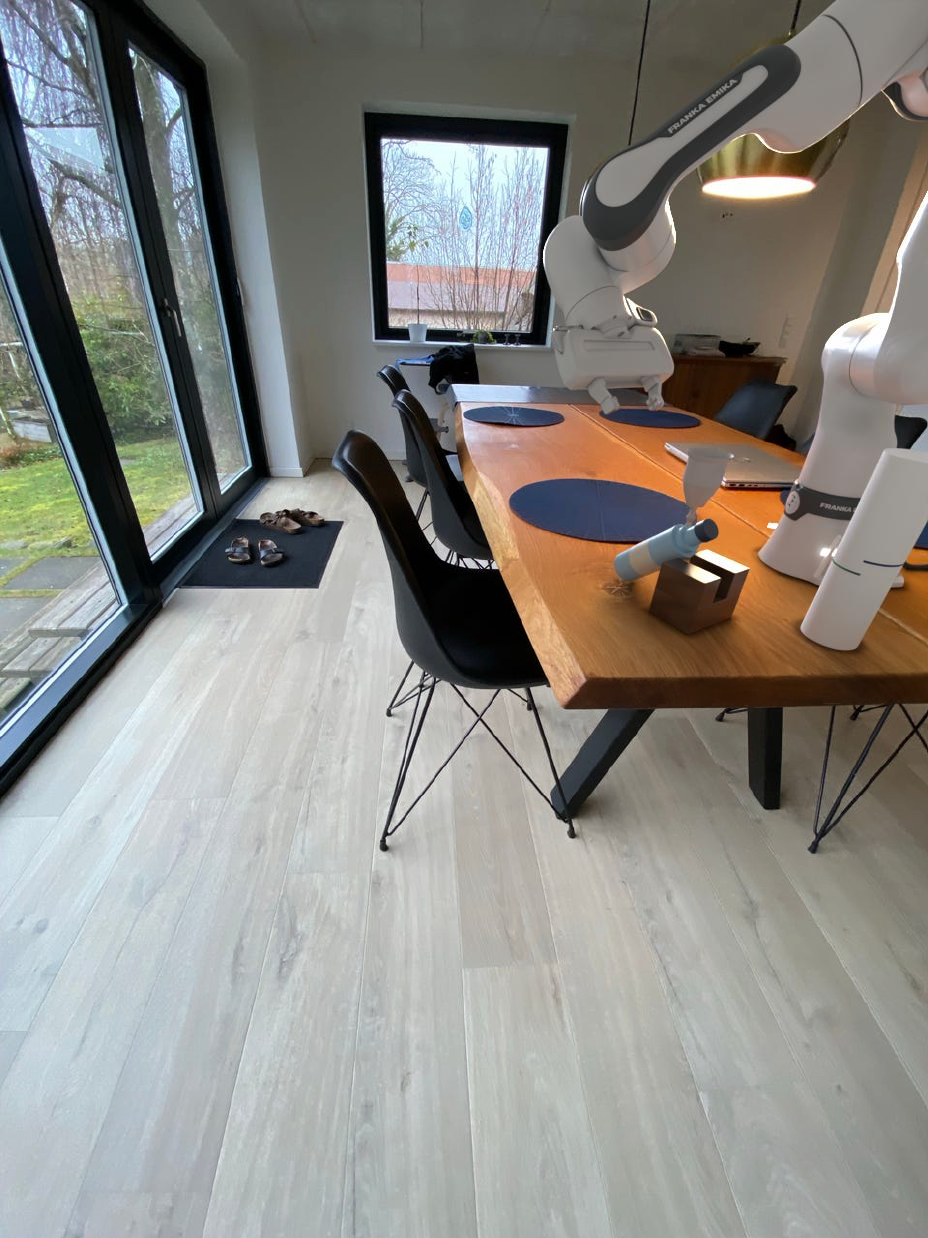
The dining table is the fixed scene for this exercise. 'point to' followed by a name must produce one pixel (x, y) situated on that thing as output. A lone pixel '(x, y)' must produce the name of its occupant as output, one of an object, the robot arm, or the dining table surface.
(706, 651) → the dining table surface
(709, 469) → the chalice
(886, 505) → the cylindrical container
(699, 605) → the block
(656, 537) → the bottle
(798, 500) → the robot arm
